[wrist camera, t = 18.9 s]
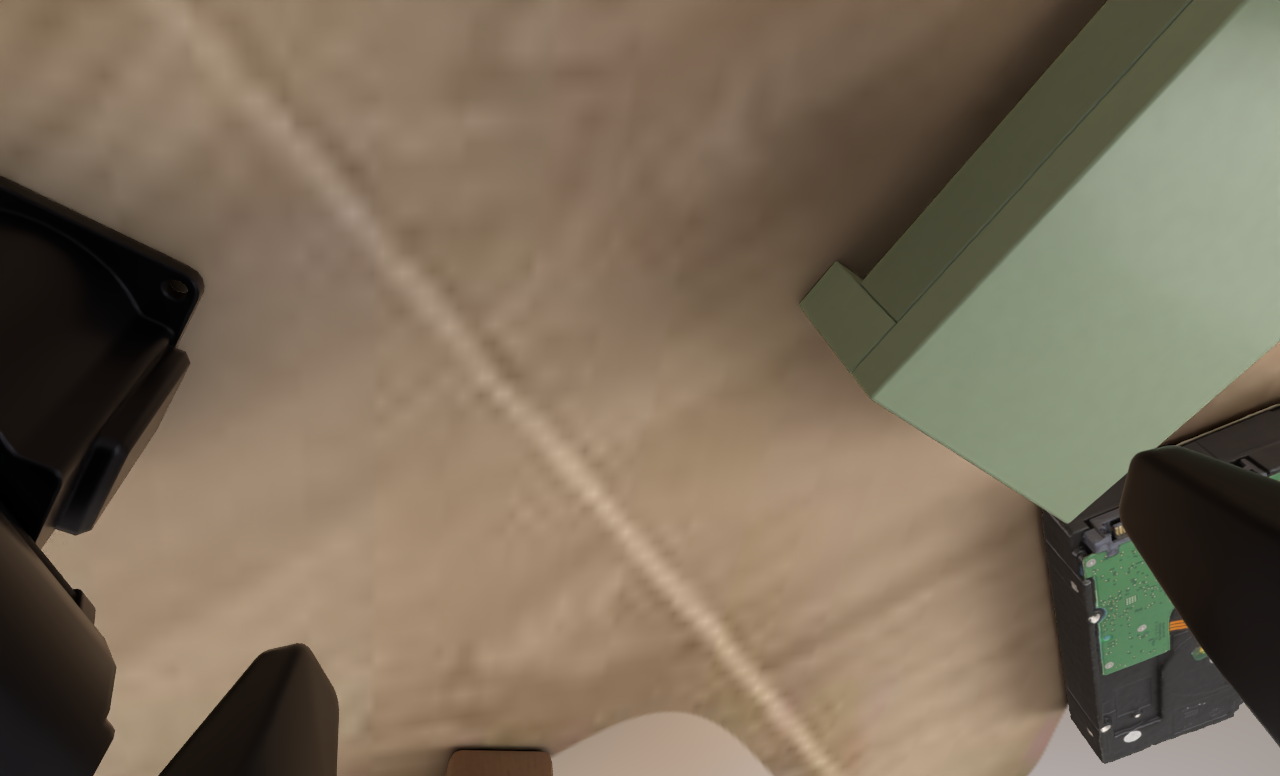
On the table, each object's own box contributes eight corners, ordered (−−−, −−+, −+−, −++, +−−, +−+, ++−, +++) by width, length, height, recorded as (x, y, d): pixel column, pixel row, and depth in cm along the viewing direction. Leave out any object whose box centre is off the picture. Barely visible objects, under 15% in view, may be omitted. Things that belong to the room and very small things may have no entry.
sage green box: (797, 304, 22) (869, 399, 17) (1386, -390, 15) (1719, -502, 11) (972, 422, 25) (1068, 525, 21) (1515, -109, 19) (1807, -113, 15)
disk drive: (1283, 625, 35) (1315, 378, 26) (1341, 678, 32) (1396, 425, 24) (1062, 711, 35) (1028, 499, 27) (1103, 769, 33) (1078, 555, 25)
